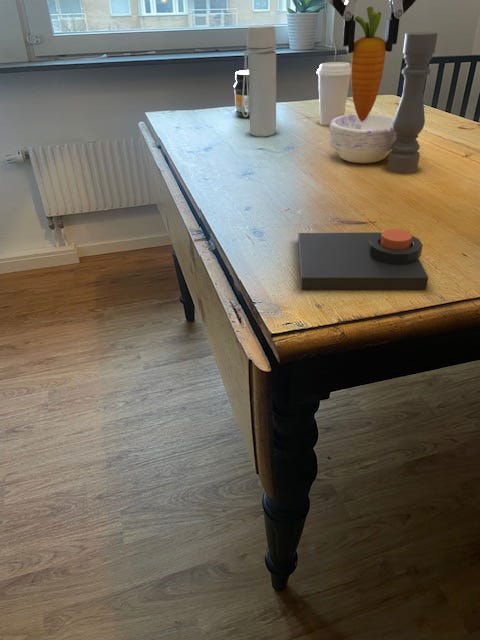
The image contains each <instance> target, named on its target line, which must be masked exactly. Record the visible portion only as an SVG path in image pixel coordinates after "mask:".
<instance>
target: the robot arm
mask: <svg viewBox="0 0 480 640" xmlns="http://www.w3.org/2000/svg"><path fill="white" fill-rule="evenodd" d="M325 1H326V2H328V4H329V5H331V6H332V7H333V8H334V9H335V11H336V12H337V13H338V14H339V16H341V18H342V19H343V29H342V42H341V44H342V47H346V48H345V49H346V53H347V54H352V52H353V49H354V42H355V37H356V35H355V34H356V21H355V14H354V12H355V8H356V5H357V2H358V0H345V2H344V1H343V0H325ZM416 1H417V0H389V8H390V12H389V14H388V17H387V18H386V20H385V29H384V39H383V40H384V42H385V43H386V52H388V53H389V52H392V51H393V45H397V43H398V35H399V27H400V19H401V18H402V17H403V15H405V13H406V12H407V11H408V10H409V9H410V8H411V7H412V6H413V5H414V4H415V3H416Z"/></svg>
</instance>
